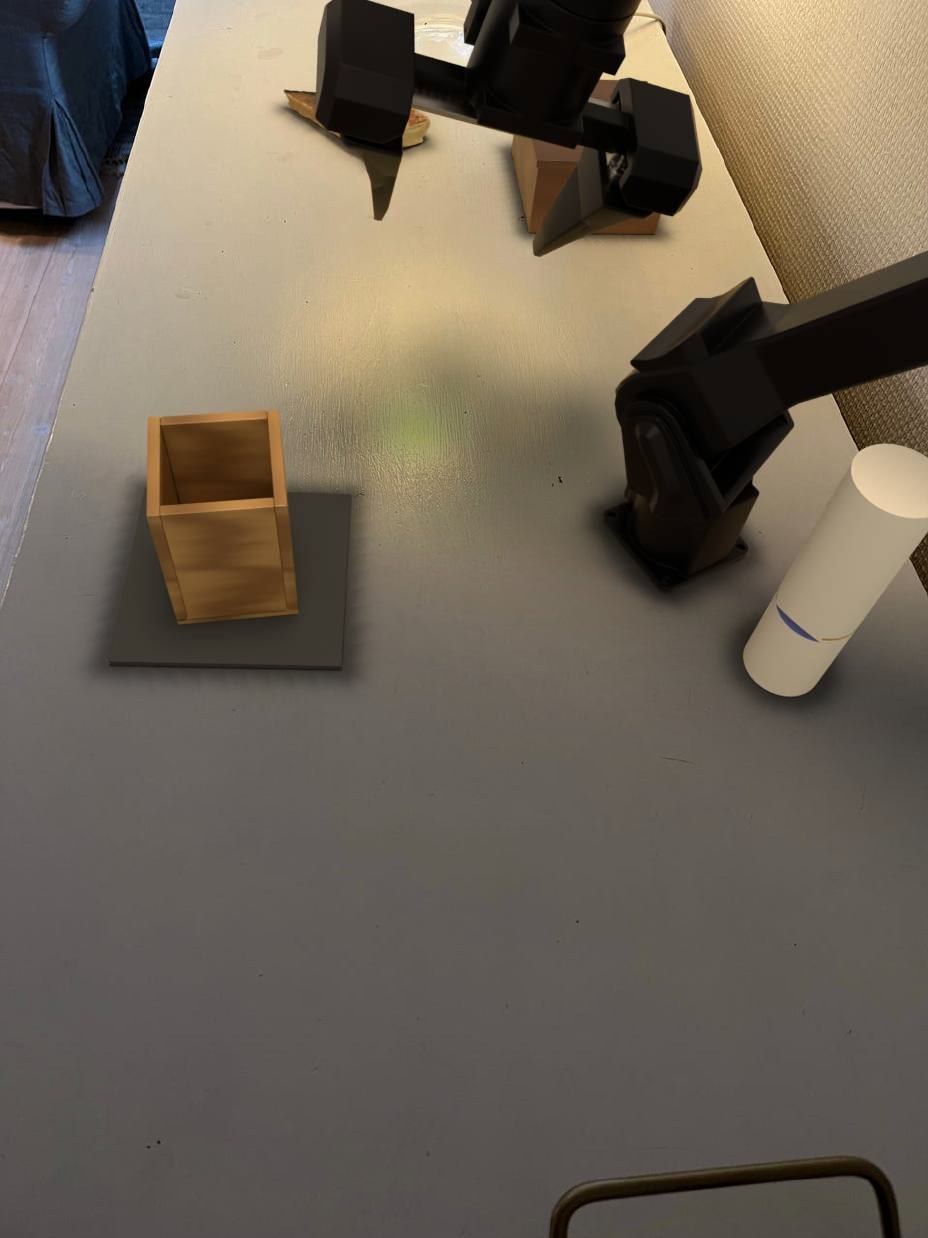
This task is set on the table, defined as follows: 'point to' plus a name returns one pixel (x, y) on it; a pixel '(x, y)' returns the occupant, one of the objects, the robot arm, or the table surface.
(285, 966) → the table surface
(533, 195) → the lidded wooden box
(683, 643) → the table surface
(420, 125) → the pie slice
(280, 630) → the mat
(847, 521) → the tube
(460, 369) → the table surface
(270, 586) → the open wooden box
